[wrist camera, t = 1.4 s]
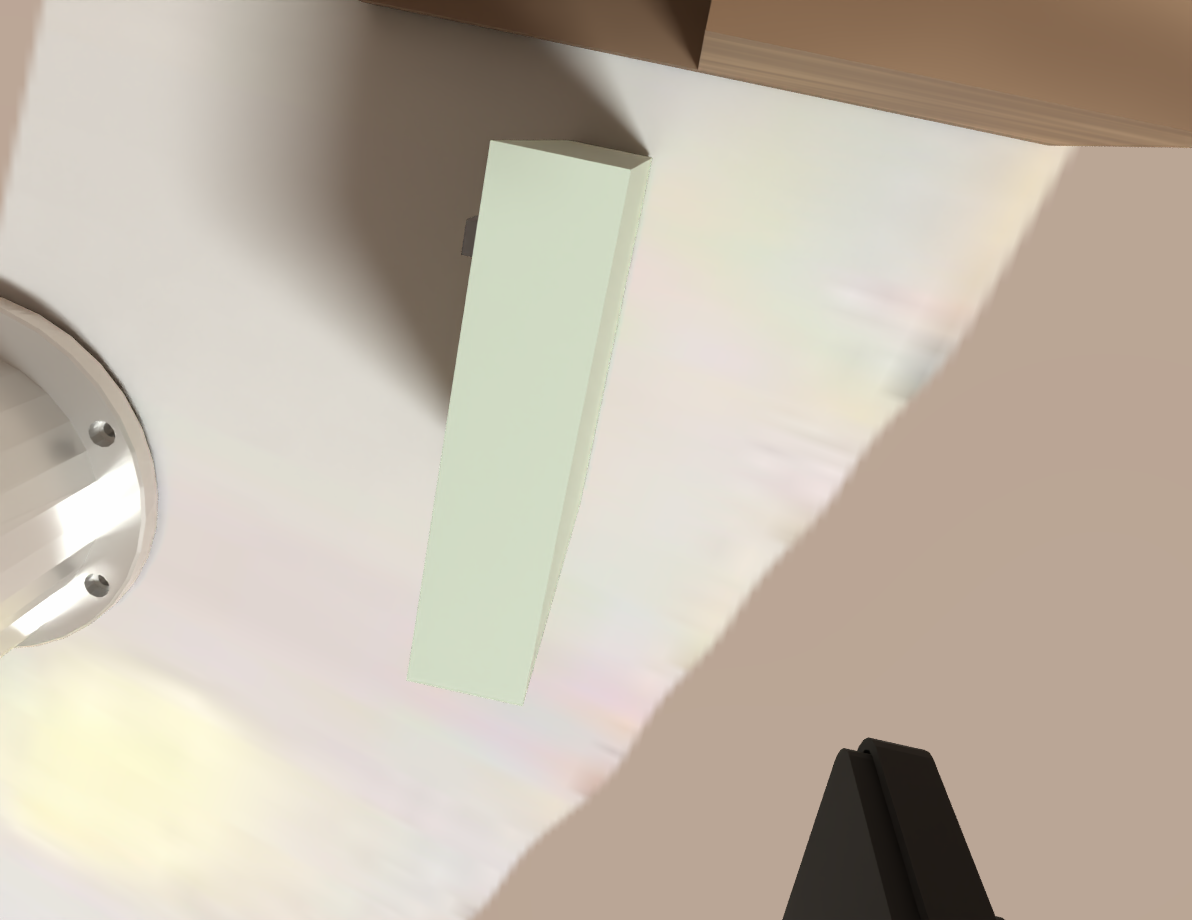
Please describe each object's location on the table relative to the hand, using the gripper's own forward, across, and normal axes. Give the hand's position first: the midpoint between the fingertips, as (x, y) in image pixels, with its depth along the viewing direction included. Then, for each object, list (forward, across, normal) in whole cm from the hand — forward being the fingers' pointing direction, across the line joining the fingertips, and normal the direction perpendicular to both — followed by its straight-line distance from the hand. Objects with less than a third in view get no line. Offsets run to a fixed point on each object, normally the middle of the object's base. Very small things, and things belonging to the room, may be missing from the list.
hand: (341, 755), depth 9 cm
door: (+22, 0, 0) cm, 22 cm away
